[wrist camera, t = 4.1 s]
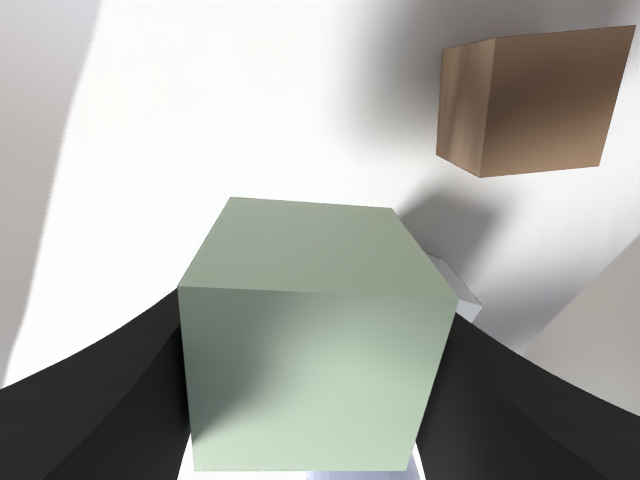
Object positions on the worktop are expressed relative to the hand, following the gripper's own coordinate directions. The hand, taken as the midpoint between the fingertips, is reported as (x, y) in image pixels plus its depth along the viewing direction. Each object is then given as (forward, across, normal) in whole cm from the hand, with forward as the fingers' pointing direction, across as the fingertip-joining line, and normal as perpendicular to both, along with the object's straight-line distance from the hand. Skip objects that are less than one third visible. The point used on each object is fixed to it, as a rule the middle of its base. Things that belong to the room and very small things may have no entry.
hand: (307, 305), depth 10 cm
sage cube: (+2, 0, 0) cm, 2 cm away
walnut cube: (+10, -9, -6) cm, 15 cm away
